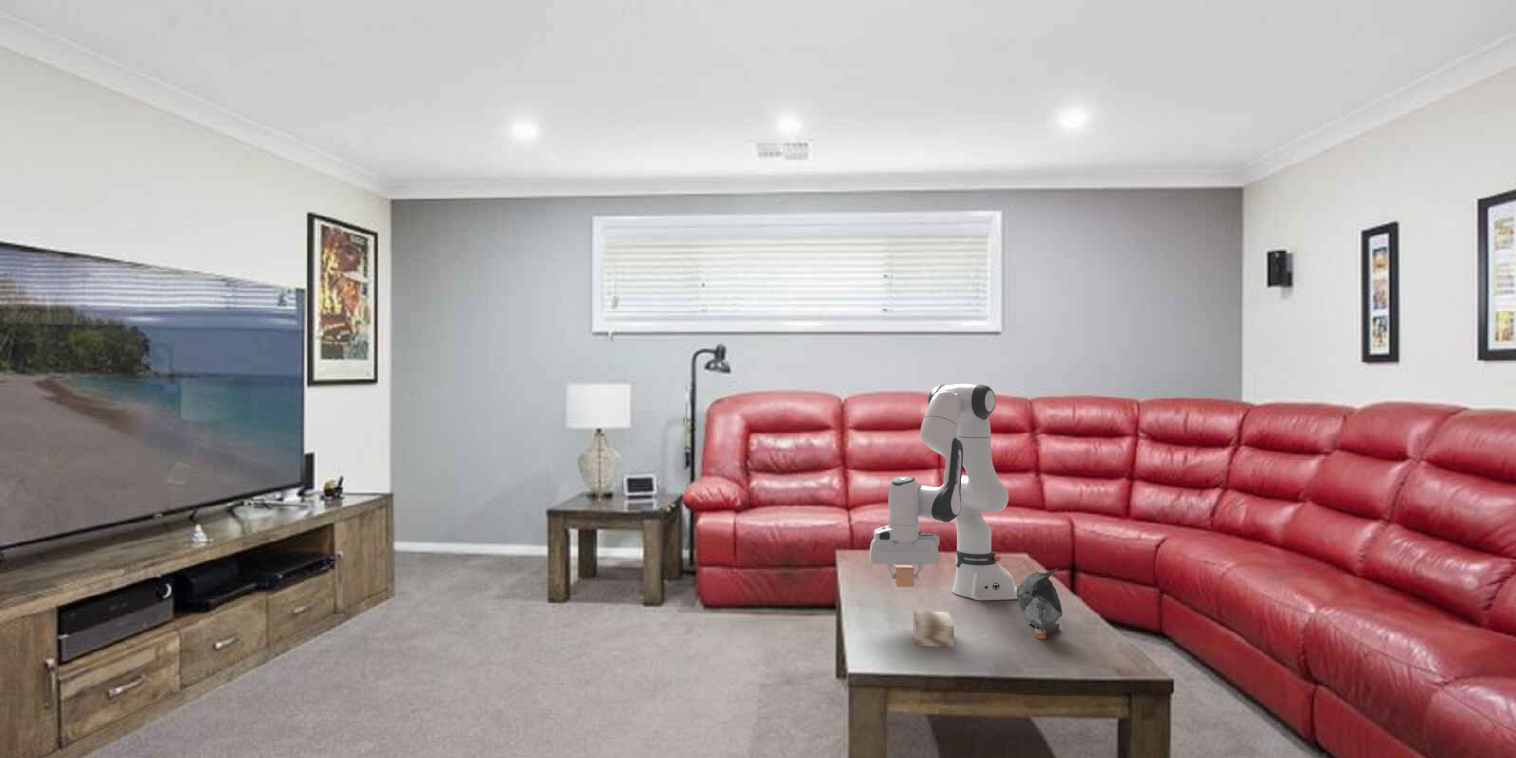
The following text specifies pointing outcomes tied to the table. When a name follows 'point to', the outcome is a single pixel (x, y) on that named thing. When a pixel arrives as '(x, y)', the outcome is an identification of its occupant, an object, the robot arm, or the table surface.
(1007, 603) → the table surface
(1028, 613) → the grey faceted figure
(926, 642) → the birch block
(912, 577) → the terracotta cube
